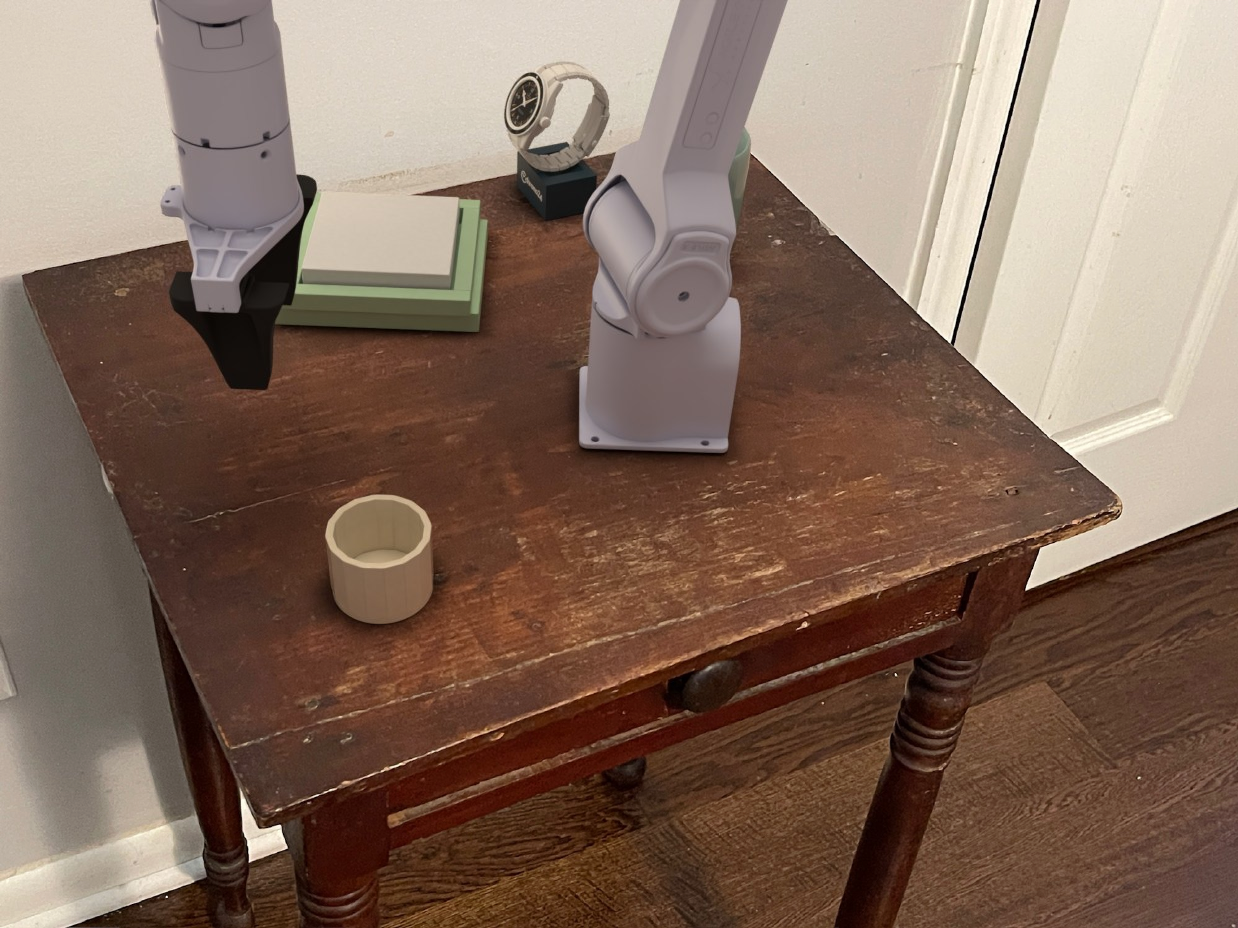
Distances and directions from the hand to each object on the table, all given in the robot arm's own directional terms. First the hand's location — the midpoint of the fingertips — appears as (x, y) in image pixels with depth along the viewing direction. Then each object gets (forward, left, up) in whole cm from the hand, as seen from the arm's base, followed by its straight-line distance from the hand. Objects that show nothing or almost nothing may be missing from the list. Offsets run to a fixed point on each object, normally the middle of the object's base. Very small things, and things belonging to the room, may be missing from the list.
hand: (262, 342), depth 75 cm
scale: (-4, -21, -10) cm, 24 cm away
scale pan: (-4, -21, -8) cm, 23 cm away
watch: (-16, -33, -10) cm, 38 cm away
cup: (-26, -26, -10) cm, 38 cm away
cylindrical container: (-7, +9, -10) cm, 15 cm away
